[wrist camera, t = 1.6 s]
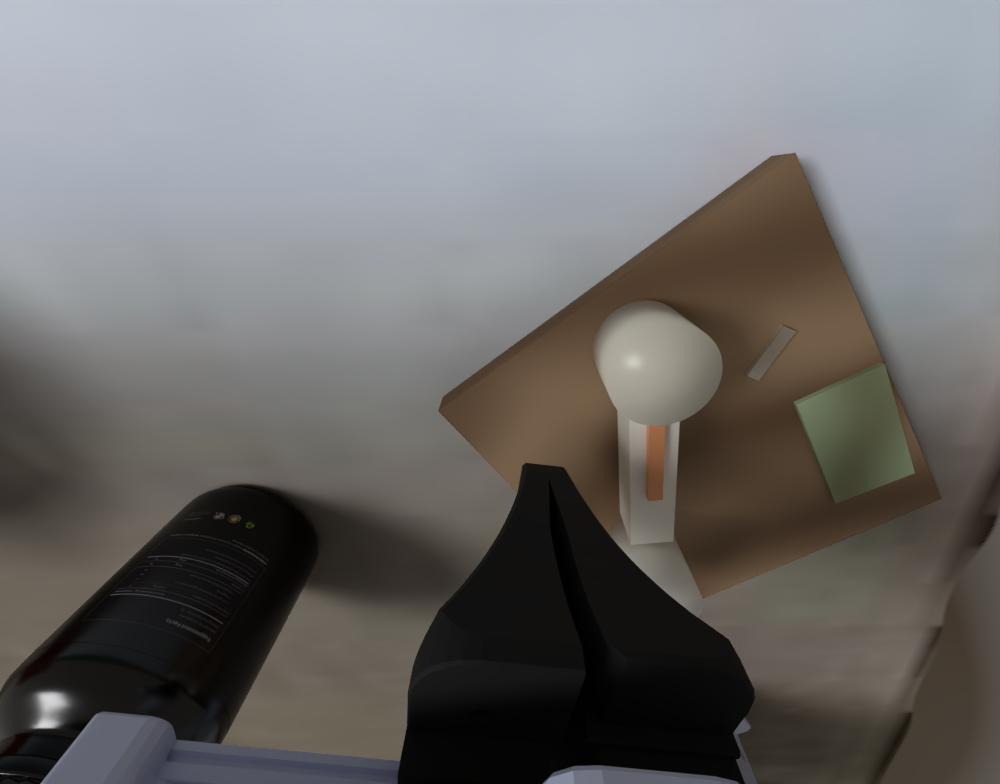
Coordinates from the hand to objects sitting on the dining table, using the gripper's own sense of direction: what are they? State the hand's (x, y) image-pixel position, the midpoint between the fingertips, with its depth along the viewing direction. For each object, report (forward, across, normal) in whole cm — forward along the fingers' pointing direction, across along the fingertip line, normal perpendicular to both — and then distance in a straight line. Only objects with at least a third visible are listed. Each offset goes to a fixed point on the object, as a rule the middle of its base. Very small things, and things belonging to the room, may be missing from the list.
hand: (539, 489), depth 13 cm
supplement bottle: (+5, +13, +9) cm, 16 cm away
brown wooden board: (+5, -7, 0) cm, 8 cm away
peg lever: (+3, -4, 0) cm, 5 cm away
